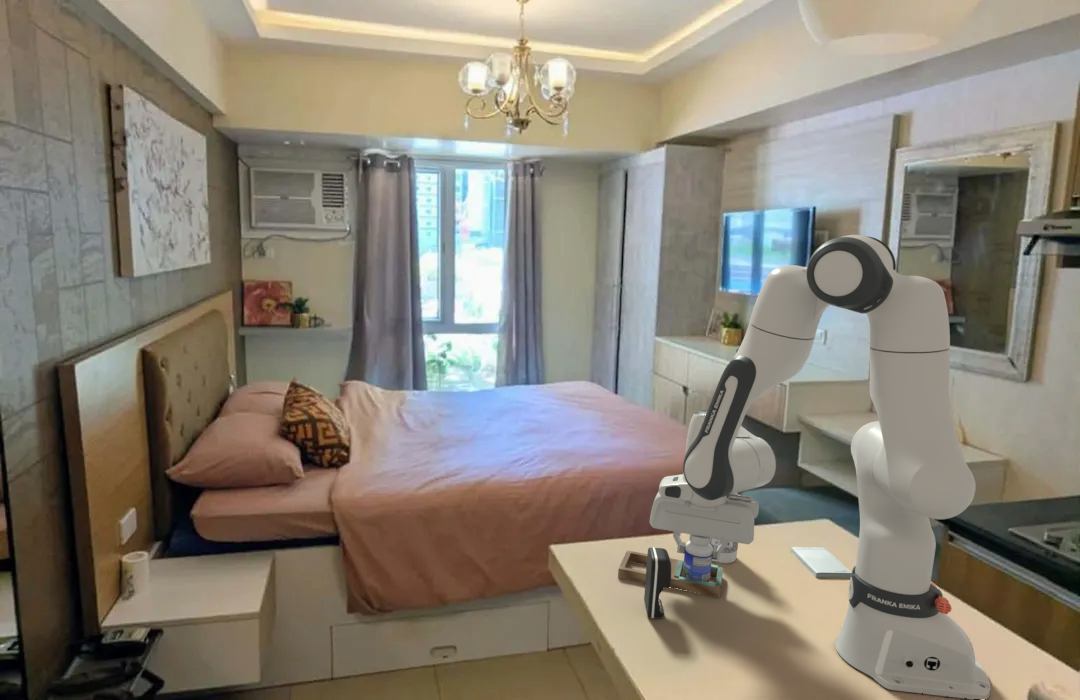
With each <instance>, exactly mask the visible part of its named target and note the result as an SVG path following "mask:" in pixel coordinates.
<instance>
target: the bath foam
mask: <svg viewBox="0 0 1080 700" xmlns="http://www.w3.org/2000/svg"><path fill="white" fill-rule="evenodd" d="M738 493H739V492H737V493H733V494H738ZM738 495H739V494H738ZM727 499H728V498H727ZM710 545H711V546H712V548H718V546H719V545H720V539H714V538H710ZM738 548H739V543H737V542H731V541H727V546H726V547H725V548H724V549H723V551H722V552H720V558H719V560H715V559H712V562H715V563H720V564H731V563H733V562H735V561H736V559H737V555H738Z"/></svg>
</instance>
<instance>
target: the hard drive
mask: <svg viewBox="0 0 1080 700" xmlns="http://www.w3.org/2000/svg"><path fill="white" fill-rule="evenodd" d="M789 551H790V553H792V555H794V556H795V558H796V559H797V560H798V561H799V562H800V563H801V564H802V565H803V566H804V567H805V568H806V569H807V570H808V571H809V572H810V573H811V574H812V576H814V577H815V578H825V579H826V578H827V579H829V578H831V579H832V578H833V579H834V578H835V579H837V578H838V579H839V578H840V579H842V578H843V579H847V578H848V579H850V578H851V576H852V570H850V569H849V568H848V567H847V566H845V565H844V564H843V563H842V562H841V561H840V560H839V559H838V558H837V557H835V555H833V554H832V553H831V552H830V551H829V550H828V549H827V548H826V547H823V546H821V547H819V546H818V547H817V546H811V547H810V546H806V547H804V546H792V547H790V550H789Z"/></svg>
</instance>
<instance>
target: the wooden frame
mask: <svg viewBox="0 0 1080 700" xmlns="http://www.w3.org/2000/svg"><path fill="white" fill-rule="evenodd" d="M647 555H648V553H643V552H639V551H633V550H628V549H627V550H626V552H625V554H624V556H623V558H622V560H621V562H620V565H619V567H618V570H617V571H618V572H617V573H618V574H617V579H623V580H626V581H631V582H636V583H642V584H645V582H646V570H640V569H634V568H630V567H629V565H630V564H631V563H633V564H634V563H635V564H640V565H645V566H647ZM669 558H670V562H671V585H670V587H671V588H670V589H672V588H678V589H682V590H687V591H691V592H690V593H692V592H696V593H695V594H697V593H700V594H699V595H703V594H704V596H708V595H709V596H708V597H712V598H713V597H714V598H718V597H719V598H718V599H720V596H721V588H722V582H723V575H724V573H723V571H724V568H723V567H720V566H719V565H716V564H712V563H711V571H710V578H713V579H715V582H712V581H711V582H710V581H709V582H706V581H701V580H695V579H690V578H685V577H683V572H682V571H683V565H684V560H682V559H677V558H671V557H669ZM682 590H681V591H682ZM687 591H686V592H687Z"/></svg>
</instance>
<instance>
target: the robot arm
mask: <svg viewBox="0 0 1080 700" xmlns="http://www.w3.org/2000/svg"><path fill="white" fill-rule="evenodd" d="M894 255H895V254H893V251H892V250H891V249H890V247H889V246H888V245H887V244H886V243H884V242H883V241H882V240H880V239H878V238H875V237H872V236H867V235H866V236H865V235H861V234H848V235H843V236H840V237H836V238H835V237H834V238H832V239H829V240H828V241H825V242H824V243H822V244H820V246H819V247H818V248H816V249H815V250H814V252H813V254H812V255H811V256H810V257H809V261H808V263H807V266H803V265H802V266H801V265H795V264H789V265H782V266H778V267H776V268H773V269H772V270H771V271H770V272H769V273H768V275H767V276H766V278H765V280H764V282H763V284H762V286H761V288H760V290H759V293H758V295H757V298H756V301H755V303H754V305H753V308H752V312H751V314H750V319H749V323H748V326H747V328H746V332H745V334H744V337H743V339H742V341H741V344H740V346H739V348H738V350H737V352H736V353H735V354H734V355H733V358H732V359H731V360H730V361H729V363H728V364H727V365H726V367H725V368H724V370H723V372H722V374H721V376H720V379H719V381H718V383H717V385H716V388H715V391H714V393H713V395H712V398H711V400H710V403H709V406H708V409H704V410H698V411H696V412H695V413H693V415H692V417H691V419H690V422H689V424H688V425H689V426H688V429H687V435H686V443H685V456H684V458H683V465H682V471H683V473H682V474H681V473H680V474H675V475H668V476H663V478H662V479H661V481H660V483H659V487H658V492H657V494H656V495H655V497H654V500H653V503H652V507H651V510H650V515H649V516H650V517H649V524H650V525H651V526H650V527H652V528H654V529H656V530H663V531H669V532H672V536H673V538H674V541H675V544H676V545H677V548H676V549H677V550H676V552H677V553H678V554H683V555H684V554H685V545H686V543H687V542H684V541H682V539H681V534H687V535H690V534H691V535H697V536H703V537H708V538H714V539H720V545H719V546H718V548H713V552H712V559H715V560H719V558H720V552H722V551H723V549H724V548H725V547H726V546H727V541H731V542H737V543H738V544H745V545H750V544H751V543H752V542H753V541H754V539H755V519H757V517H758V516H759V512H760V511H759V510H760V509H759V508H760V506H759V502H758V501H757V500H756V499H754V498H753V497H752V496H751V495H742V494H733V493H742V492H745V491H748V490H753V489H756V488H761V487H762V486H766V485H768V484H770V483H771V482H772V481H773V480H774V478H775V475H776V472H777V467H778V464H777V457H776V454H775V451H774V449H773V447H772V446H771V444H769V443H768V442H767V440H765V439H763V438H762V437H759V436H756V435H754V434H753V433H751V431H748V430H747V429H746V428H745V427H743V425H742V423H743V421H744V420H745V416H746V414H747V411H748V410H749V408H750V407H751V405H752V404H753V402H754V401H755V400H757V399H758V398H759V397H760V396H761V395H763V394H764V393H765V392H767V391H769V390H770V389H772V388H773V387H776V386H778V385H779V384H781V383H783V382H786V381H788V380H790V379H792V378H794V377H795V376H797V374H799V373H800V372H801V370H802V369H803V368H804V366H805V364H806V362H807V360H808V358H809V357H810V354H811V351H812V348H813V345H814V341H815V337H816V334H817V331H818V328H819V327H818V326H819V324H820V321H821V318H822V316H823V313H824V312H825V311H826V309H827V308H828V307H829V306H833V307H837V308H842V309H846V310H849V311H852V312H854V313H859V314H866V315H867V318H868V323H869V396H870V399H871V401H872V403H873V406H874V409H875V412H876V415H877V419H878V420H876V421H871V422H868V423H865V424H864V425H863V426H861V427H860V428H859V429H857V431H856V432H855V433H854V435H853V436H852V439H851V443H850V453H851V456H852V457H851V458H852V460H853V463H854V468H855V473H856V484H857V497H858V509H859V535H858V542H857V545H858V546H857V552H856V553H857V554H856V559H855V560H856V561H855V566H854V567H853V568H852V570H851V572H852V576H851V578H849V579H850V580H849V587H848V595H847V596H848V597H847V598H848V601H849V604H848V608H847V612H846V615H845V618H844V620H843V624H842V626H841V628H840V631H839V634H838V635H837V637H836V639H835V641H834V647H835V648H836V649H835V650H836V651H837V653H838V654H839V656H840V657H841V658H842V659H843V660H844V661H845V662H846V663H848V664H849V665H851V666H852V667H853V668H855V669H857V670H858V671H859V672H861V673H864V674H866V675H868V676H869V677H871V678H873V680H875V681H876V683H878V684H879V685H881V686H882V687H883V688H884V689H885V688H886V689H888V690H889V691H890V690H891V691H898V692H905V693H906V692H907V693H915V694H922V693H923V694H924V695H932V696H940V697H947V696H948V698H949V697H950V698H957V699H964V698H967V699H966V700H973V699H986V700H987V699H989V697H990V695H991V683H990V678H989V676H988V675H987V672H986V671H985V669H984V667H983V666H982V664H981V663H980V662H979V661H978V660H977V659H976V653H975V650H974V646H973V643H972V642H971V639H970V638H969V636H968V634H967V633H966V631H965V630H964V629H963V628H962V627H961V626H960V625H959V624H958V623H957V622H956V621H954V620H953V618H951V617H950V616H949V613H950V612H951V611H952V610H953V609H952V605H951V604H950V602H949V600H948V599H947V598H946V597H943V596H944V595H943V592H942V591H941V590H940V589H939V588H937V586H936V584H935V583H934V582H933V581H932V575H933V567H934V561H935V560H934V559H935V553H936V547H937V543H936V536H935V534H934V531H933V529H932V526H931V522H930V519H933V520H947V519H951V518H954V517H955V518H956V517H957V516H958V515H960V514H962V513H963V512H964V511H965V510H967V508H969V506H970V505H971V504H972V501H973V500H974V497H975V494H976V489H977V487H976V480H975V476H974V474H973V471H971V469H970V467H969V466H968V465H969V464H967V461H966V460H965V457H964V454H963V451H962V449H961V448H962V447H961V446H960V441H959V436H958V433H957V428H956V424H955V421H954V415H953V412H952V405H951V394H950V363H951V362H950V359H951V357H950V355H951V354H950V353H951V351H950V350H951V334H950V333H951V332H950V330H951V329H950V319H949V318H950V317H949V312H948V305H947V300H946V296H945V292H944V289H943V287H942V286H941V285H940V284H939V283H938V282H936V281H935V280H932V279H930V278H928V277H925V276H920V275H904V274H901V273H898V272H897V271H896V269H897V265H896V264H897V263H896V259H895V256H894ZM727 498H728V499H727Z"/></svg>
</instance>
